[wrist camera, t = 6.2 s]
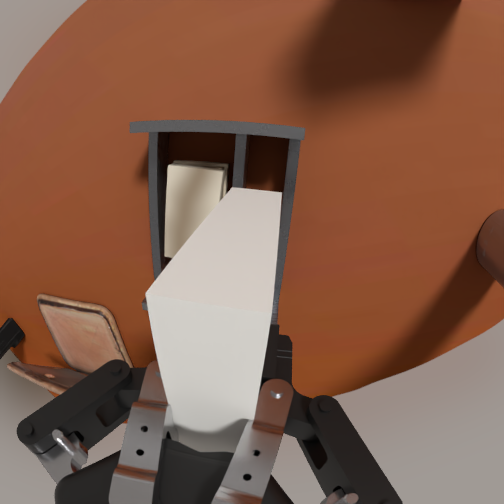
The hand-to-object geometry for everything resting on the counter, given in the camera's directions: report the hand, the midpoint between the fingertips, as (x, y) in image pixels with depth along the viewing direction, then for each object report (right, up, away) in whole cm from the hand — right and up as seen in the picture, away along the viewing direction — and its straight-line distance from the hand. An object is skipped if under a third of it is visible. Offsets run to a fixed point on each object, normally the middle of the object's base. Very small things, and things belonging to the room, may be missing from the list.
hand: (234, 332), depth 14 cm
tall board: (+1, +2, +5) cm, 6 cm away
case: (-31, -13, +31) cm, 46 cm away
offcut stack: (-5, +9, +18) cm, 20 cm away
